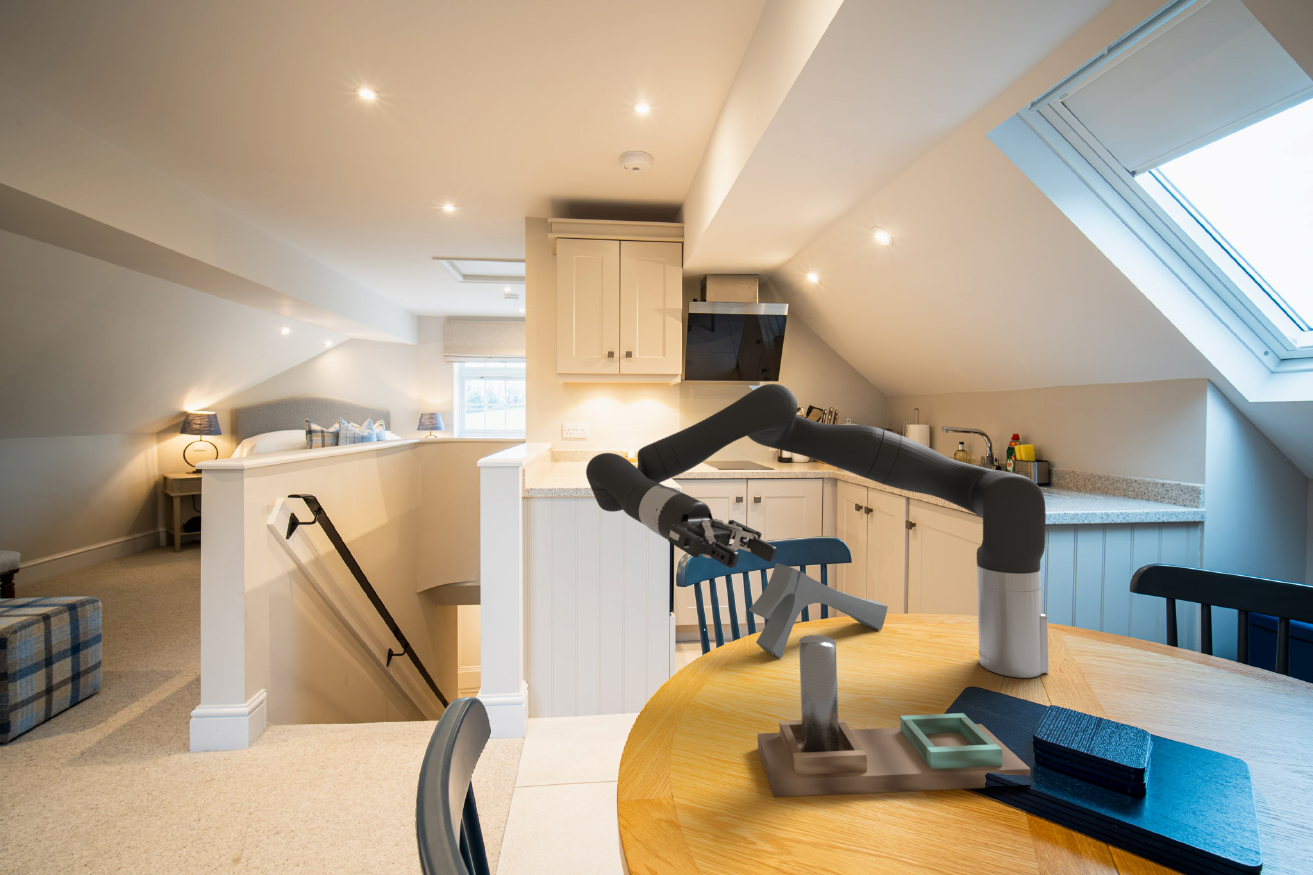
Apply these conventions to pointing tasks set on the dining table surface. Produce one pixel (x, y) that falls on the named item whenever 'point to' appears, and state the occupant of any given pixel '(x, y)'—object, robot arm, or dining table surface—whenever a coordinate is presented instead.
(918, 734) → the brown insertion board
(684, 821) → the dining table surface
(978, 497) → the robot arm
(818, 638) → the peg
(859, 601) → the grey bent piece
